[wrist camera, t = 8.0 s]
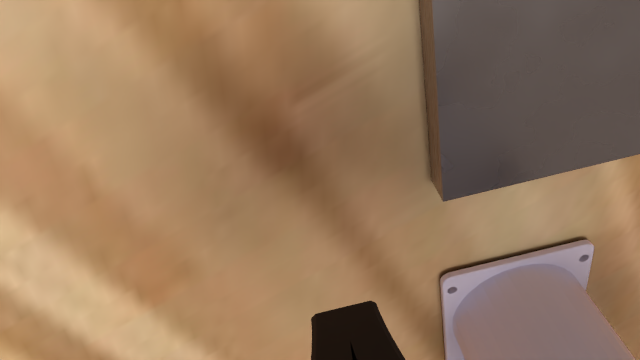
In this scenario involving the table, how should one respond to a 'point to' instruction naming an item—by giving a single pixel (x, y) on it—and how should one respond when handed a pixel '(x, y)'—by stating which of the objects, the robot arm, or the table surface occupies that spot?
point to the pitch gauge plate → (528, 88)
